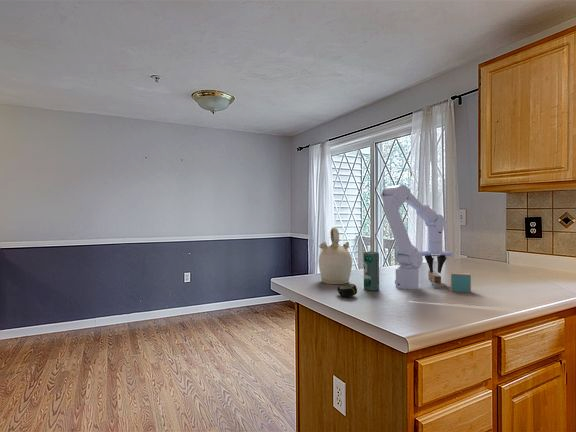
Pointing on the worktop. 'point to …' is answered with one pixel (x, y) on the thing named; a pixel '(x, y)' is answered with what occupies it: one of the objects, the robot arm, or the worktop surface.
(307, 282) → the worktop surface
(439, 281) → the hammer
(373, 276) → the can
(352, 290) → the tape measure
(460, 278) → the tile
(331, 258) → the jug
